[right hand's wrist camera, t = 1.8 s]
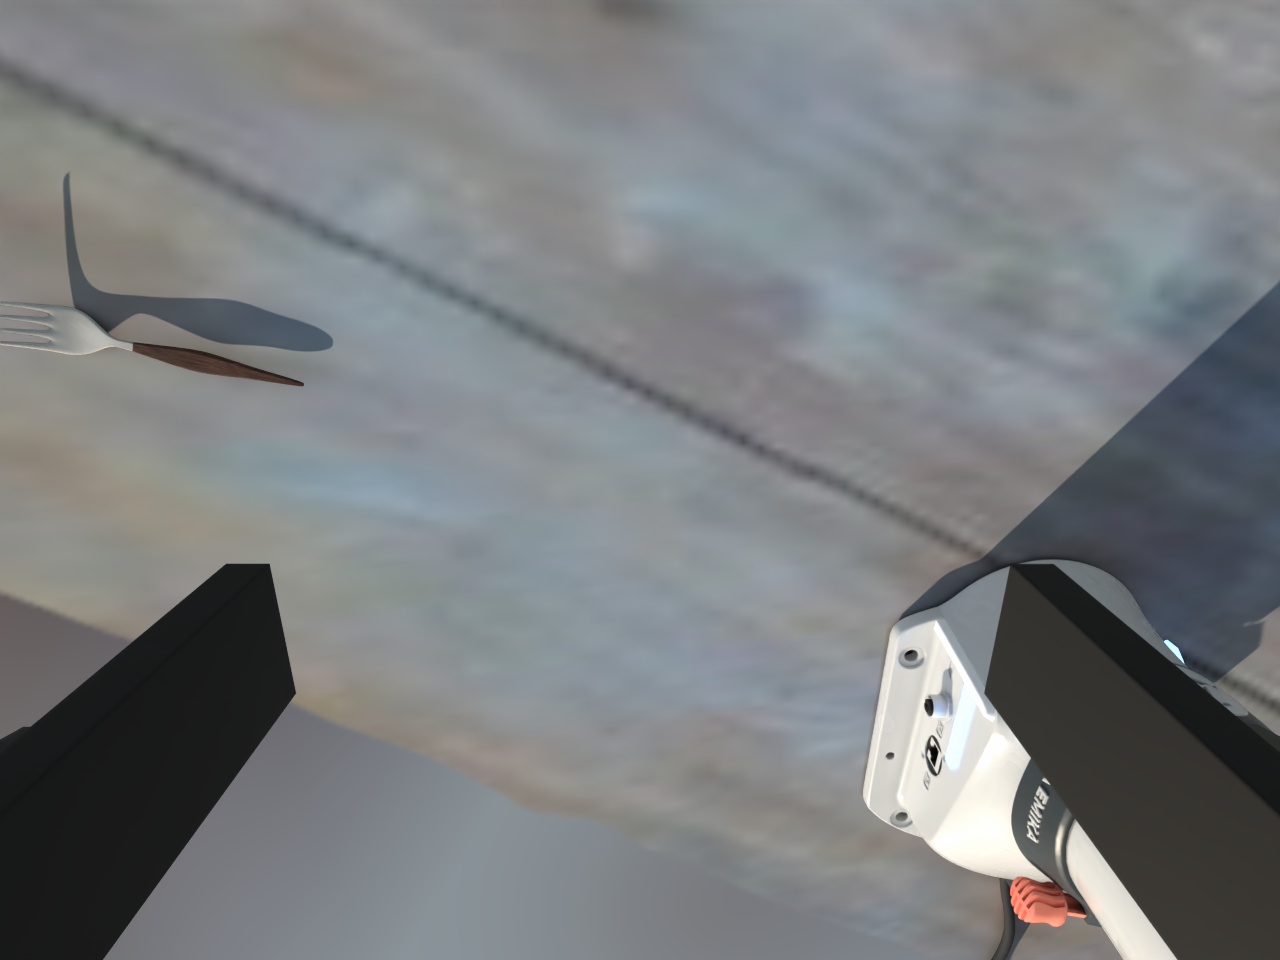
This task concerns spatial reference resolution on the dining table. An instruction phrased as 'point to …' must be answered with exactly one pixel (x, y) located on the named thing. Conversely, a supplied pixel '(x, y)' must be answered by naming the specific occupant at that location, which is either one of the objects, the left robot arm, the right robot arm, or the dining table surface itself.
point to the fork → (121, 343)
